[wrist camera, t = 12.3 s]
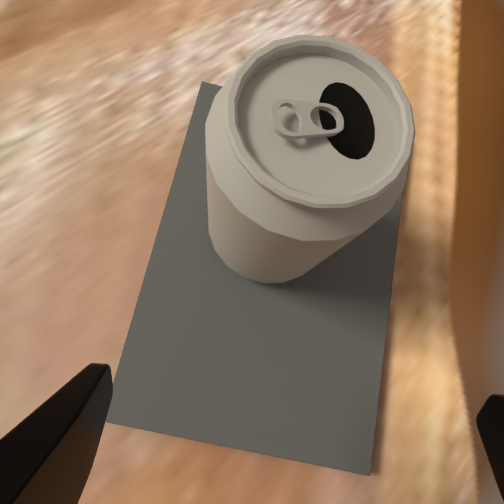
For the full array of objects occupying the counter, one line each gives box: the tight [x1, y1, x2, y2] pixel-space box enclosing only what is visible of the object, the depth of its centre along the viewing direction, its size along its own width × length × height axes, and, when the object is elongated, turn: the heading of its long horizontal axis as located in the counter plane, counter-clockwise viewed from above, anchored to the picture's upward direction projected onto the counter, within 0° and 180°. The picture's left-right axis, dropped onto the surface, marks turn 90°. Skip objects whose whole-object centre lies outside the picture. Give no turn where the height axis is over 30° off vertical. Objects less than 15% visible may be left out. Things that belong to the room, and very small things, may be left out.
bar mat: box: [105, 81, 403, 476], centre depth 23 cm, size 22×15×1 cm
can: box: [205, 35, 415, 283], centre depth 17 cm, size 8×8×12 cm
